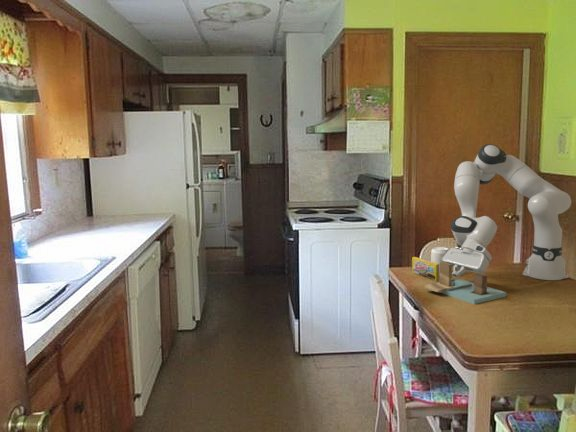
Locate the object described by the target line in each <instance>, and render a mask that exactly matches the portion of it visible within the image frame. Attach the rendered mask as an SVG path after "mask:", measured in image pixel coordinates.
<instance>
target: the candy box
mask: <svg viewBox="0 0 576 432" xmlns="http://www.w3.org/2000/svg"><path fill="white" fill-rule="evenodd" d="M411 268H412V269H411V274H412V275H414V274H415V275H414V276H417V275H418V276H417V277H421V278H424V279H426V280H429V281H433V282H434V283H435V282H439V279H440V275H439V264H437V263H434V262H431V260H426V259H424V258H420V257H417V256H412V259H411Z"/></svg>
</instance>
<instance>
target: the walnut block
mask: <svg viewBox="0 0 576 432" xmlns="http://www.w3.org/2000/svg"><path fill="white" fill-rule="evenodd" d="M473 276H474V277H473V283H474V294H477V295H486V294H487V287H488V274H484V273H482V274H481V273H476V274H473Z"/></svg>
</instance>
